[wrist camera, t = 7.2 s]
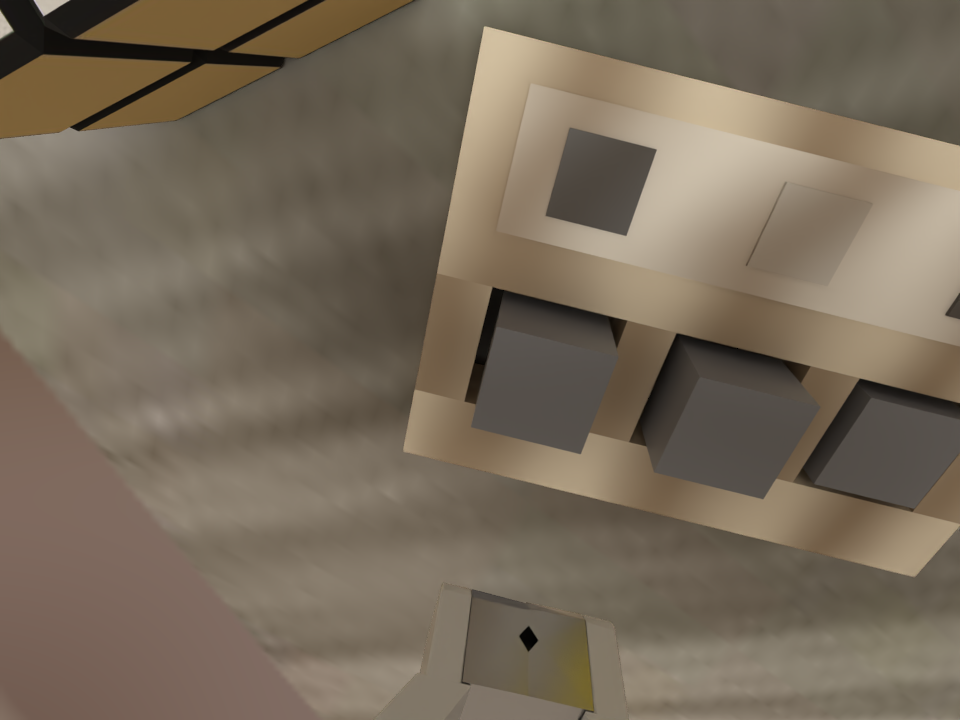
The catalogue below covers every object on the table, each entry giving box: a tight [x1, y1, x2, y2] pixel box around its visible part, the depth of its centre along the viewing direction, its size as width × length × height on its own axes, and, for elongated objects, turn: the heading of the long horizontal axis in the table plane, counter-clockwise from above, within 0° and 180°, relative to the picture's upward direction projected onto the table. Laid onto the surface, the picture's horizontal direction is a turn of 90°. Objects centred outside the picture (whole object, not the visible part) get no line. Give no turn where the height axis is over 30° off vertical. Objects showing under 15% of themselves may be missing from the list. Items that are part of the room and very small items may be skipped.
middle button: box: [639, 334, 821, 499], centre depth 18 cm, size 4×4×3 cm
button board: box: [403, 26, 960, 577], centre depth 18 cm, size 20×14×3 cm
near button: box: [471, 291, 619, 454], centre depth 18 cm, size 4×4×3 cm
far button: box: [803, 378, 960, 509], centre depth 19 cm, size 4×4×3 cm
